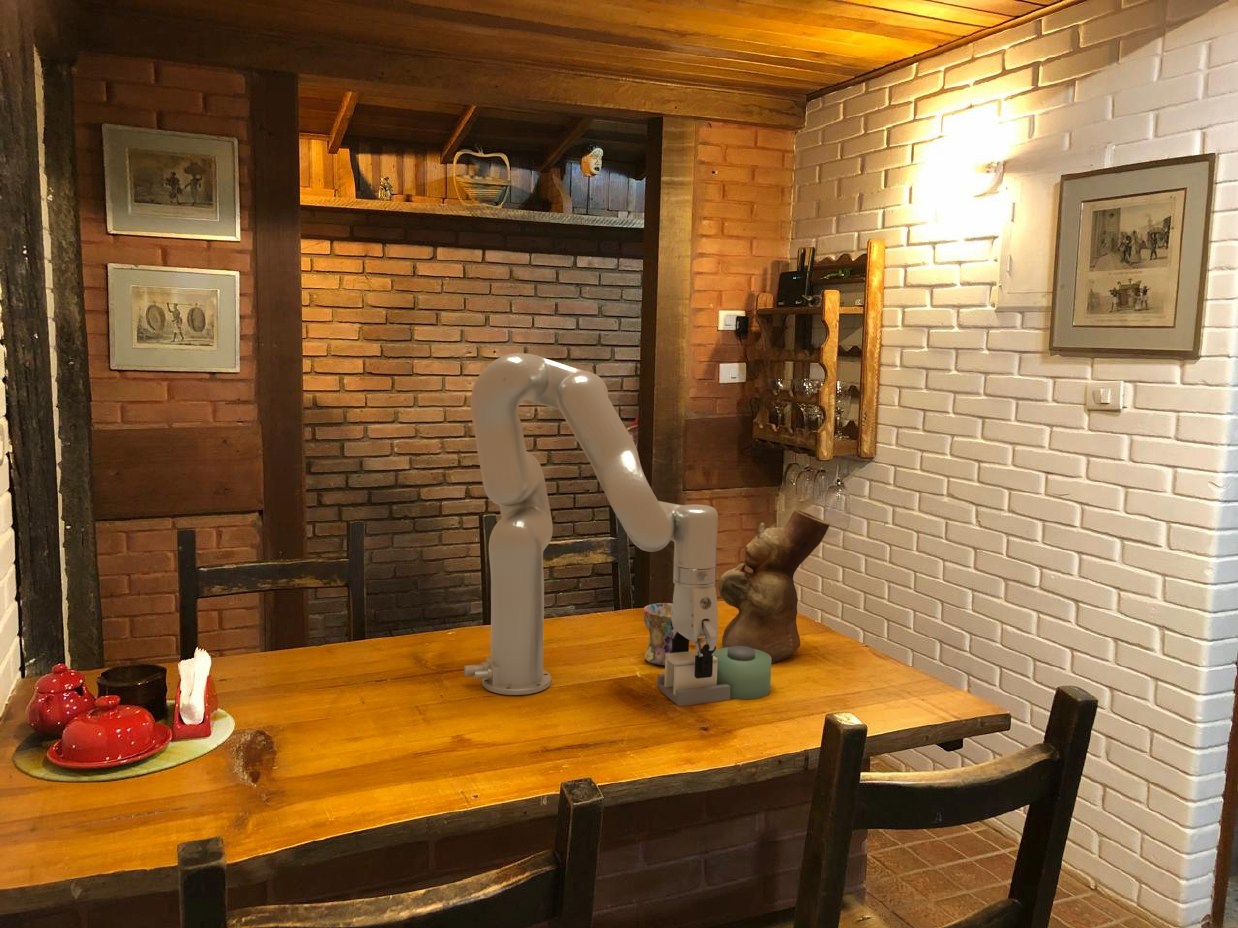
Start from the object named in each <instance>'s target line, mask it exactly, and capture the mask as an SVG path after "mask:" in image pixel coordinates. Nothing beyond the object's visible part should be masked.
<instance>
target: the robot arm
mask: <svg viewBox="0 0 1238 928" xmlns="http://www.w3.org/2000/svg"><path fill="white" fill-rule="evenodd" d="M475 380H476V381H475V382H474V384H473V387H472V391H471V397H470V415H471V420H472V426H473V427H472V428H473V431H474V436H475V443H476V444H475V445H476V450H477V451H476V452H477V456H478V463H479V466H480V474H481V479H482V480H481V481H482V487H483V491H484V493H485V494H486V496H487V498H488V499H489V500H490V501H491V502H492V503H493V504H494V505H497V506H499V512H500V515H501V518H500V520H498V521H497V523H496V524H495V525H494V527H493V529H492V530H491V533H490V535H489V541H488V558H489V559H488V560H489V568H490V602H491V603H490V656H487V657H486V661H483V662H481V664H470V665H469V664H468V665H464V667H463V671H464V676H465V677H473V679H475V680H477V679H481V685H482V687H484V689H485V690H487V691H489V692H492V693H495V694H497V695H505V696H525V695H531V694H535V693H540V692H541V691H544V690H546V689H547V688H549V687H550V686H551V684H552V676H551V674H550V673H549V672H548V671H546V670H544V629H545V628H544V622H545V621H544V619H545V618H544V616H545V576H544V551H545V549H546V548H547V547H548V545H550V543H551V541H552V537H553V532H554V531H553V530H554V526H553V519H552V514H551V513H552V512H551V507H550V501H549V496H548V492H547V486H546V484H547V483H546V479H545V475H544V471H543V468H542V466H541V463H540V462H539V460H538V459H537V457H536V456H534V454H533V453H530V452H529V451H527V447H526V443H525V438H524V437H525V436H524V431H523V425H522V422H521V418H520V415H519V408H520V405H521V403H522V402H524V401H530V402H532V403H535V404H539V405H543V406H546V407H549V408H551V409H555V410H557V411H560V413H561V415H562V417H563V418H564V420H565V422H566V423H567V425H568V427H569V428H570V431H571V432H572V433H573V435H574V437H575V439H576V441H577V442H578V444H579V446H580V447H581V450H582V451H583V452H584V454H585V457H587V460H588V461H589V463H590V465H591V467H592V469H593V471H594V473H595V476H596V478H597V481H598V482H599V484H600V486H601V488H602V489H603V492H604V494H605V496H606V498H607V501H608V502H609V504H610V506H611V509H612V511H613V512H614V514H615V516H616V518H617V519H618V520H619V523H620V524H621V526H622V528H623V530H624V531H625V533H626V534H627V536H628V537H629V539H630V541H631V542H632V543H633V545H635V546H636V547H637V548H639V549H640V550H641V551H645V552H649V553H650V552H651V553H652V552H653V553H654V552H658V551H661V550H663V549H664V548H665V547H666V546H668V545H669V543H670V542H671V541H672V542H673V543H674V546H673V547H674V548H673V549H674V551H673V575H672V576H673V577H672V578H673V579H672V582H673V584H674V587H673V595H672V598H673V599H672V604H673V606H672V610H671V611H670V614H671V621H672V622H671V626H672V630H673V631H672V633H671V636H672V638H675V639H672V653H678V652H689V651H690V642H691V643H693V644H694V646H695V651H697V655H696V656H695V674H694V676H695V678H697V679H698V678H707V677H711V676H712V669H713V656H714V651H715V650H717V644H718V640H719V637H718V636H719V635H718V633H719V631H718V630H719V627H718V625H719V618H718V617H719V616H718V615H719V614H718V612H719V611H718V597H717V589H716V586H715V585H716V584H717V582H716V581H717V580H716V579H717V559H718V558H717V557H718V556H717V553H718V532H719V531H718V530H719V529H718V527H719V513H718V510H716V508H715V507H713V506H711V505H705V504H697V503H695V504H694V503H693V504H677V503H672V502H671V503H670V502H666V501H660V500H658V499H657V497H656V495H655V493H654V492H653V489H652V487H651V486H650V484H649V482H648V480H647V477H646V475H645V474H644V470H643V468H642V465H641V462H640V461H641V460H640V457H639V452H638V449H637V446H636V443H635V441H634V440H633V438H632V436H631V435H630V432H628V429H627V427H626V426H625V425H624V422H623V421H622V420H621V418H620V416H619V414H618V412H617V410H616V409H615V406H614V405H613V403H612V401H611V400H610V398H609V390H608V387H607V385H606V382H605V381H604V379H602V378H601V377H600V376H599V375H598V374H596V373H593V372H592V371H587V370H585V369H584V370H583V369H580V368H577V367H573V366H570V365H567V364H564V363H561V362H558V361H554V360H552V359H548V358H545V357H542V356H539V355H536V354H532V353H522V352H514V353H513V352H512V353H509V354H505V355H502V356H500V357H498V358H497V359H495V360H494V361H492V362H491V363H489V365H487V366H486V367H485V368H484V369H483V370H482V371H481V372H480V374H479V375H478V376H477V378H476V379H475ZM702 644H704V645H703V647H702Z"/></svg>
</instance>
